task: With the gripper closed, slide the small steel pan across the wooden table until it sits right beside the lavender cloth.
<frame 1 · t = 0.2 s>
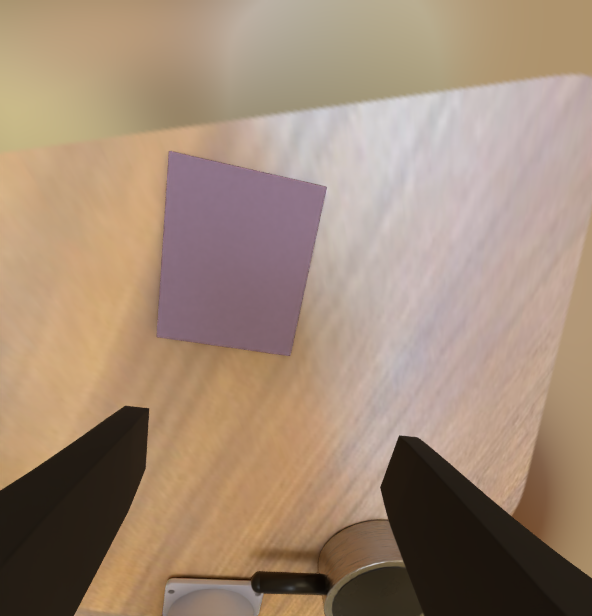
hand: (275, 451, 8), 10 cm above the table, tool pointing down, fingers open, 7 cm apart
cloth: (237, 265, 16), on the table
pan: (369, 557, 25), on the table
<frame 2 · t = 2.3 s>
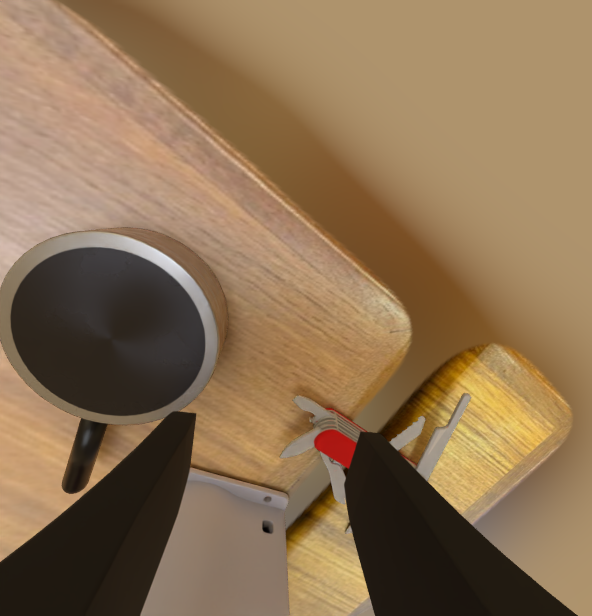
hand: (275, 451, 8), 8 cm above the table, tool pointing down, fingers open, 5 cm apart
pan: (141, 315, 15), on the table
swiss army knife: (366, 469, 17), point 2 cm above the table
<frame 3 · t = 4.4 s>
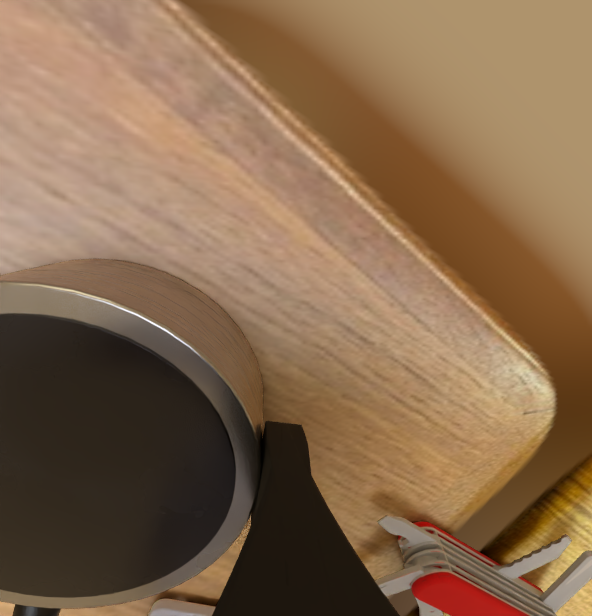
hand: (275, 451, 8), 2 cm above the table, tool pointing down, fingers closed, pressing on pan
pan: (122, 399, 9), on the table, touching gripper
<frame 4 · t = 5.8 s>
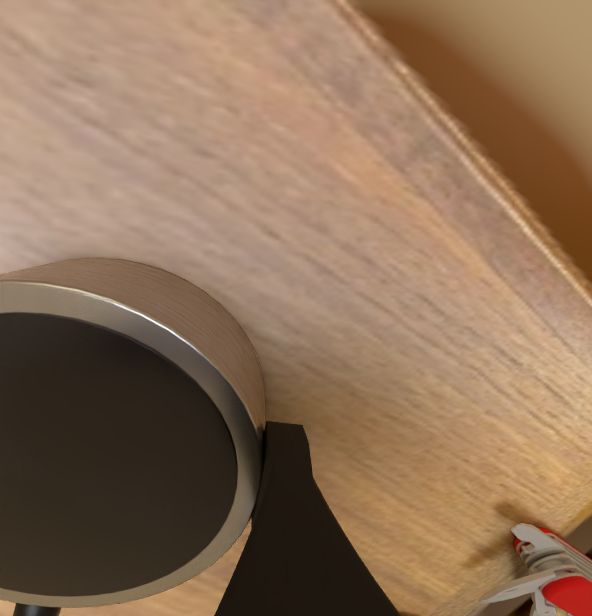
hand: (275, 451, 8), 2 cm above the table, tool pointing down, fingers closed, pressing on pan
pan: (124, 398, 9), on the table, touching gripper
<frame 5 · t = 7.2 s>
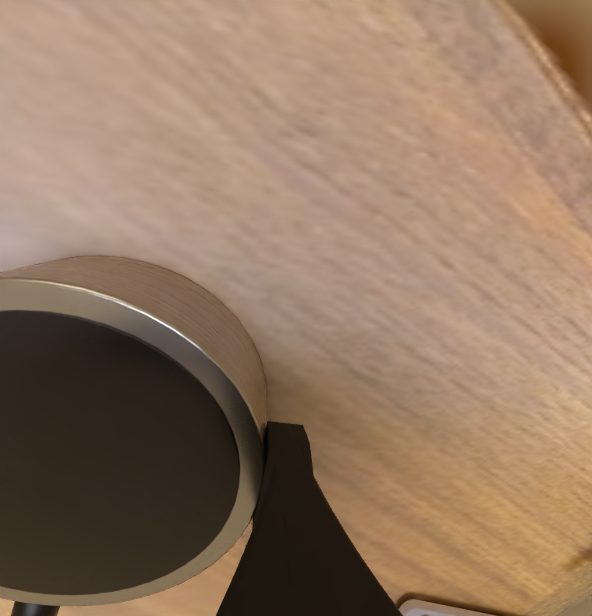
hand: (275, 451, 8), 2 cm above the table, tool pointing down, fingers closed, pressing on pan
pan: (125, 396, 9), on the table, touching gripper
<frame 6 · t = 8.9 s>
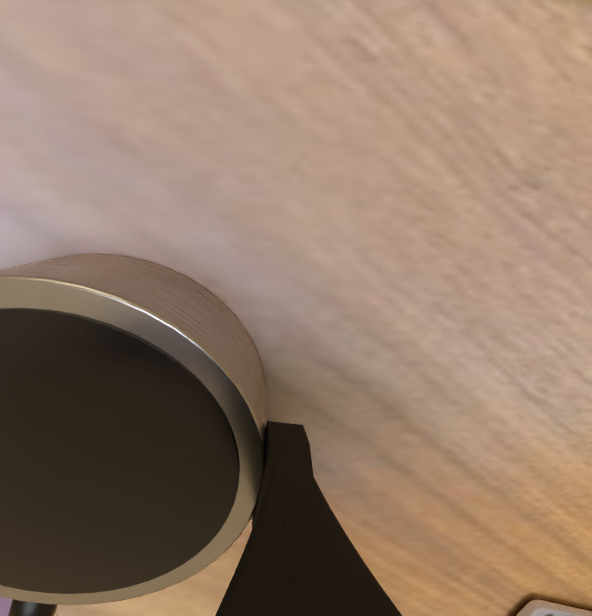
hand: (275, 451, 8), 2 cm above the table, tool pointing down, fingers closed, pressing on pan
pan: (124, 395, 9), on the table, touching gripper
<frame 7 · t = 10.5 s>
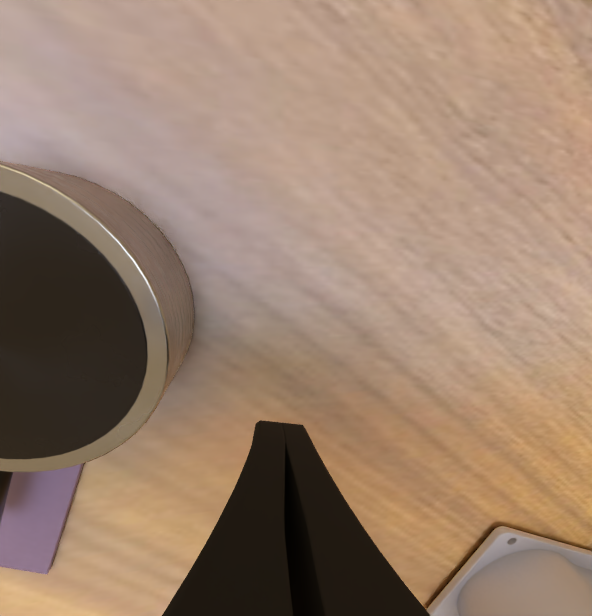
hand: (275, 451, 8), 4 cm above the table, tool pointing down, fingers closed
pan: (66, 306, 11), on the table
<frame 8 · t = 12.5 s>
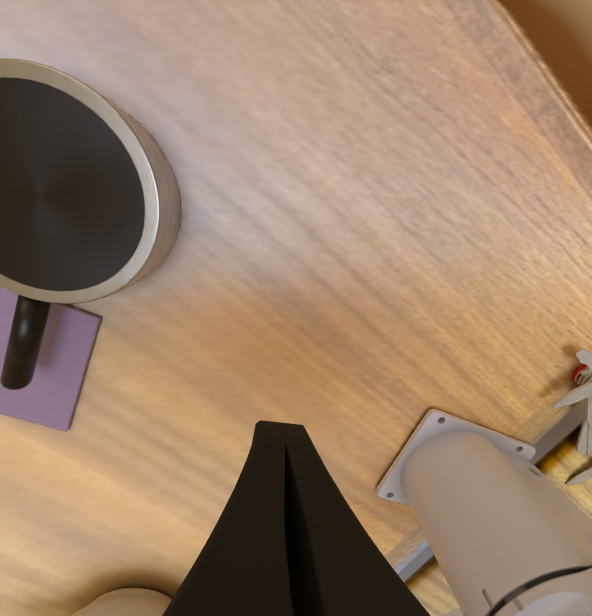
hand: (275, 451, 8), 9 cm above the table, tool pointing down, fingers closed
teacup: (118, 604, 24), on the table
pan: (86, 199, 14), on the table
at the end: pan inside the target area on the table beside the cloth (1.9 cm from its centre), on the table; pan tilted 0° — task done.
